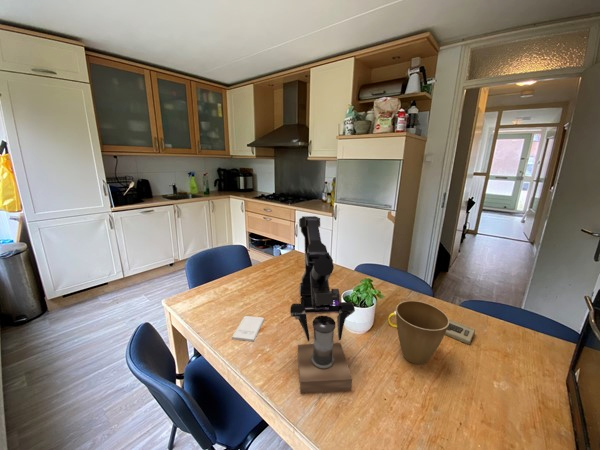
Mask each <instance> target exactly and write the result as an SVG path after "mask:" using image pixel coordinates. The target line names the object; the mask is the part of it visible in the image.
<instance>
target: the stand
mask: <svg viewBox="0 0 600 450" xmlns="http://www.w3.org/2000/svg"><path fill="white" fill-rule="evenodd" d="M313 347H314V343H306V344H305V343H304V344H301V343H300V344H297V364H298V379H299V390H300V392H299V393H300V394H301V395H302V394H303V395H304V394H317V393H321V394H322V393H339V392H352V387H353V386H352V385H353V384H352V383H353V382H352V381H353V378H352V375H351V371H350V369H349V364H348V362H347V359H346V357H345V353H344V350H343V346H342V343H341V342H333V352H332V355H333V356H334V364H333V366H332V367H331V368H329V369H324V370H323V369H318V368H316V367H315V366H314V365H313V364H312V362H311V356H312V354H313Z"/></svg>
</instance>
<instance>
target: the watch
mask: <svg viewBox="0 0 600 450" xmlns="http://www.w3.org/2000/svg"><path fill="white" fill-rule="evenodd" d="M394 316H395V317H396V310H394V312H391V313H390V314H389V315H388V319H387V321H388V323H389V325H390V327H393V328H397V324H395V323H393V322H391V319H390V318H391V317H394Z"/></svg>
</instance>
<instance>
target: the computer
mask: <svg viewBox="0 0 600 450" xmlns="http://www.w3.org/2000/svg"><path fill="white" fill-rule="evenodd" d="M448 319H449V325H448V328H447V330H446V333H445V335H444V336H447V337H449V338H452V339H453V340H456V341H459V342H461V343H462V344H463V343H464V344H466V345H468V346H470V345H471V343H472V340H473V337H474V336H475V333H476V329H474V327H473V328H472V327H470V326H467V325H465V324H462V323H460V322H457V321H455V320H452V319H450V318H448Z"/></svg>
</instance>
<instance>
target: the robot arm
mask: <svg viewBox="0 0 600 450" xmlns="http://www.w3.org/2000/svg"><path fill="white" fill-rule="evenodd" d="M298 221H299V222H298V225H299V226H298V227H299V228H300V232H301V234H302V236H303V238H304V273H303V275H302V277H301V282H300V283H299V297H300V303H292V304H291V305H290V308H289V309H290V310H289V311H290V317H292V318H294V320H295V321H296V320H298V321H299V323H300V325H301V327H302V329H303V333H304V335H305V338H306V341H307V343H308V342H310V332H309V325H308V321H307V319H308V318H307V314H317V313H318V314H319V313H321V314H322V313H338V314H337V316H336V325H337V336H338V341H341V340H342V335H343V331H344V324H345V322H346V319H347V318H348V317H349V316H350V315H352V314H353V313H354V312H355V311H356V308H355V305H354V303H353V302H352V301H343V302H342V301H341V302H339V303H338V304H337V305H334V301H340V291H339V290H340V289H339V288H331V289H330V283H329V280H330V277H331V275H332V273H333V272H334V260H333V258H332V256H331V255H330V252H328V249H327V246H326V245H325V244H324V243H322V238H321V233H320V227H321V217H318V216H315V215H314V216H313V215H312V216H311V215H310V216H308V215H307V216H305V215H304V216H303V215H302V216H301V217H300V218H299V220H298Z"/></svg>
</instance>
